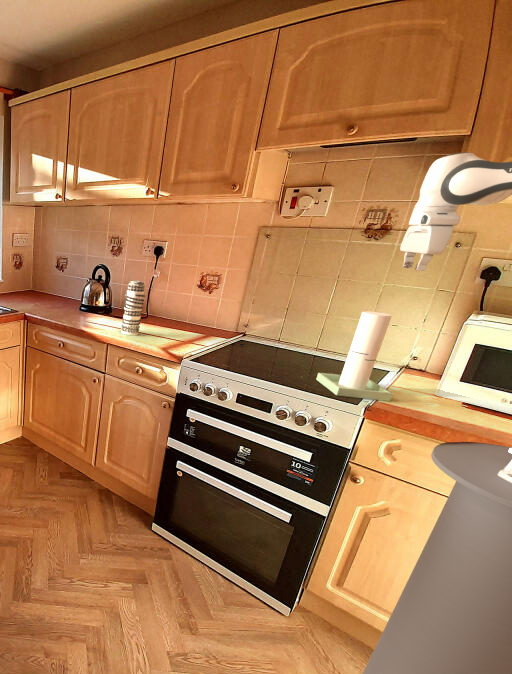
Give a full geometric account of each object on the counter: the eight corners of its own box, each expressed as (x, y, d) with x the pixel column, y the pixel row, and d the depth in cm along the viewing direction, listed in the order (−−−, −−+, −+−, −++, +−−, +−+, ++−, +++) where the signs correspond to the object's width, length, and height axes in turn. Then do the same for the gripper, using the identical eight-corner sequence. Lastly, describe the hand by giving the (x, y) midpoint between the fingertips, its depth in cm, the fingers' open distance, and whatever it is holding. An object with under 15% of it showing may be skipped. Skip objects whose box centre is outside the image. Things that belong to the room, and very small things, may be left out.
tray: (390, 401, 132) (393, 393, 131) (336, 395, 135) (339, 387, 134) (363, 384, 146) (366, 377, 145) (316, 379, 149) (318, 372, 148)
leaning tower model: (140, 332, 210) (148, 280, 201) (138, 336, 202) (146, 282, 193) (121, 329, 213) (128, 279, 204) (118, 333, 205) (125, 281, 196)
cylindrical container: (337, 382, 145) (361, 310, 136) (363, 387, 141) (390, 313, 132) (338, 388, 139) (363, 313, 130) (365, 393, 136) (393, 316, 127)
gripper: (403, 219, 129) (387, 266, 134) (432, 217, 112) (412, 271, 117) (429, 219, 126) (412, 267, 131) (464, 218, 109) (442, 273, 114)
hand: (412, 269), depth 124 cm, fingers open, 8 cm apart
